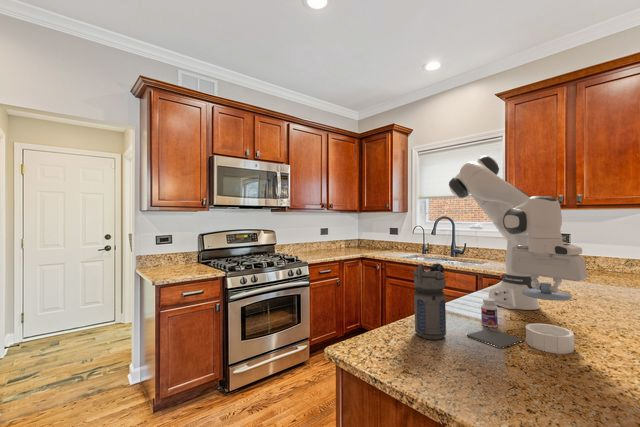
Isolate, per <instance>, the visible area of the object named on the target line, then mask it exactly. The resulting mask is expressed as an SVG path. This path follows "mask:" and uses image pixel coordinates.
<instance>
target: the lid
mask: <svg viewBox="0 0 640 427" xmlns="http://www.w3.org/2000/svg"><path fill="white" fill-rule="evenodd" d="M539 283H540V287H541V290H536V289H524V290H522V294H523V295H525V296H528V297H532V298H537V300H544V301H545V300H546V301H556V302H558V301H560V302H561V301H562V302H563V301H571V300H572V299H573V295H572V294H570V293H568V292H565V291H562V290H561V291H560V290H558V292H557V293H553V292H550V289H549V286H552V283H551V282H539Z"/></svg>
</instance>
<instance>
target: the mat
mask: <svg viewBox="0 0 640 427" xmlns="http://www.w3.org/2000/svg"><path fill="white" fill-rule="evenodd" d="M467 336H468V337H467ZM466 337H467V338H470V337H471V338H470V339H472V338H474V339H473V340H475V339H477V340H476V341H478V340H480V341H479V342H481V341H483V342H486V343H489V344H492V345H495V346H497V347H500V348H503V347H506V346H509V345H512V344H514V343H517V342H520V341H523V342H524V341H525V339H523V338H521V337H516V336H513V335H510V334H508V333H505V332H501V331H499V330H498V331H497V330H495V329H492V328H486V329H483V330H479V331H475V332H471V333H468V334H466ZM483 342H482V343H483ZM486 343H485V344H486ZM520 343H521V342H520ZM489 344H488V345H489ZM492 345H491V346H492ZM512 346H513V345H512ZM497 347H496V348H497ZM509 347H510V346H509ZM500 348H499V349H500ZM506 348H507V347H506ZM503 349H504V348H503Z"/></svg>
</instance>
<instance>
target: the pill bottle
mask: <svg viewBox="0 0 640 427" xmlns="http://www.w3.org/2000/svg"><path fill="white" fill-rule="evenodd" d="M480 306H481V307H480V309H481V313H480V314H481V325H482V326H483V325H484V326H483V327H486V326H488V327H487V328H492V327H494V328H497V327H498V326H499V320H498V319H499V315H498V314H499V313H498V305H495V300H494V299H491V298H485V297H483V300H482V304H481V305H480Z"/></svg>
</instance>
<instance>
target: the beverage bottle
mask: <svg viewBox="0 0 640 427" xmlns="http://www.w3.org/2000/svg"><path fill="white" fill-rule="evenodd" d="M426 267H427V269H424V264H421V263H418V266H417V268H414V271H413V287H415V290H414V292H413V293H414V294H413V295H414V296H413V297H414V298H413V300H414V302H413V303H414V307H413V308H414V332H415V333H416V335H417V336H419V337H421V338H422V339H426V340H432V341H433V340H434V341H435V340H441V339H444V338H445V337H446V334H447V320H446V319H447V318H446V317H447V316H446V315H447V314H446V313H447V312H446V307H447V306H446V293H445V292H444V289H445V288H446V285H447V284H446V283H447V282H446V278H445V274H444V266H443V265H442V264H441V263H437V262H436V263H433V264H432V265H428V266H426Z"/></svg>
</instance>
